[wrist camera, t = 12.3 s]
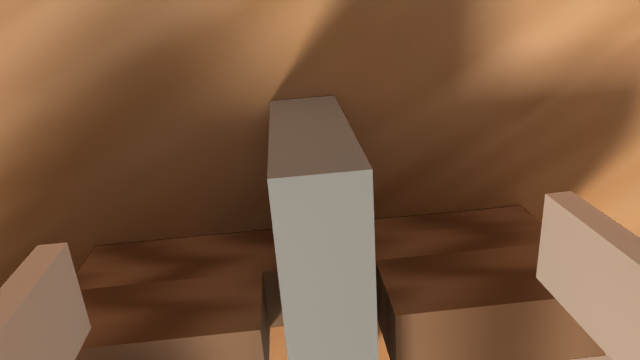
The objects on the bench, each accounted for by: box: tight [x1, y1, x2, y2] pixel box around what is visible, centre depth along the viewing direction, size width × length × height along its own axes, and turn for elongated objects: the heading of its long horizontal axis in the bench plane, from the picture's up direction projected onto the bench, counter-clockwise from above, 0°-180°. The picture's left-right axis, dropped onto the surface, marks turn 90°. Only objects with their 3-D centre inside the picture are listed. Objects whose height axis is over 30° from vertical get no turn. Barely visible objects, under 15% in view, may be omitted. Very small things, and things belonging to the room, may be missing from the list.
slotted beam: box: [75, 206, 605, 360], centre depth 23 cm, size 22×3×8 cm, turn 94°
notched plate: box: [267, 96, 379, 360], centre depth 22 cm, size 3×16×10 cm, turn 4°
